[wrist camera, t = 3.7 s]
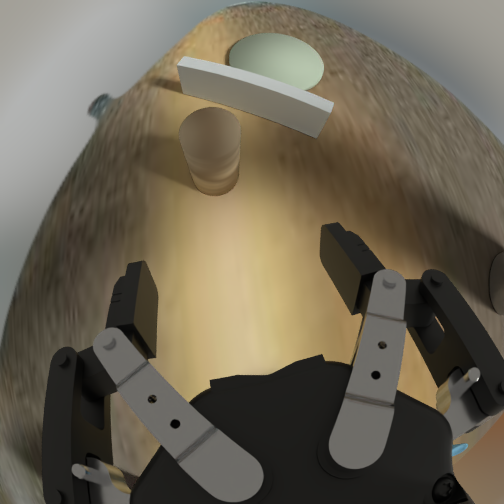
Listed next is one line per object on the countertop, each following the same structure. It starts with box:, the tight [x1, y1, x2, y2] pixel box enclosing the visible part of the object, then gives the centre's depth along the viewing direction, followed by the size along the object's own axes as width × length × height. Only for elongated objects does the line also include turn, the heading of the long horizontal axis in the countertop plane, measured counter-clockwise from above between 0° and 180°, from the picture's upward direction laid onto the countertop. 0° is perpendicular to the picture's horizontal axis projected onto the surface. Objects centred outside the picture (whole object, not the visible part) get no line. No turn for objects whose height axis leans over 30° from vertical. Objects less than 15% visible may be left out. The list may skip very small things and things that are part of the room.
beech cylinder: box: [179, 107, 241, 196], centre depth 22 cm, size 4×4×8 cm
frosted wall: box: [177, 56, 334, 139], centre depth 25 cm, size 16×2×5 cm, turn 68°
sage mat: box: [229, 33, 324, 91], centre depth 29 cm, size 12×12×1 cm
